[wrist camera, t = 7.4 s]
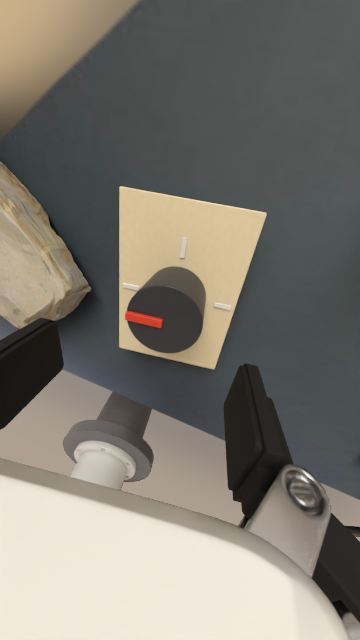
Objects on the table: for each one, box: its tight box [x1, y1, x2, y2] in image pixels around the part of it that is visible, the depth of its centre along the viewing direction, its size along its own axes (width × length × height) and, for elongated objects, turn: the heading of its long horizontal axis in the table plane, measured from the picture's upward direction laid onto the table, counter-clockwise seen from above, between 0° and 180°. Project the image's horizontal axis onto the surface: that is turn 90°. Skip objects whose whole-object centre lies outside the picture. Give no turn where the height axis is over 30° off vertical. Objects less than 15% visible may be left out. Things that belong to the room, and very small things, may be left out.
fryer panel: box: [119, 187, 267, 369], centre depth 18 cm, size 14×10×3 cm
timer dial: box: [125, 266, 206, 353], centre depth 14 cm, size 5×5×5 cm
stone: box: [0, 162, 91, 329], centre depth 17 cm, size 21×12×5 cm, turn 179°
